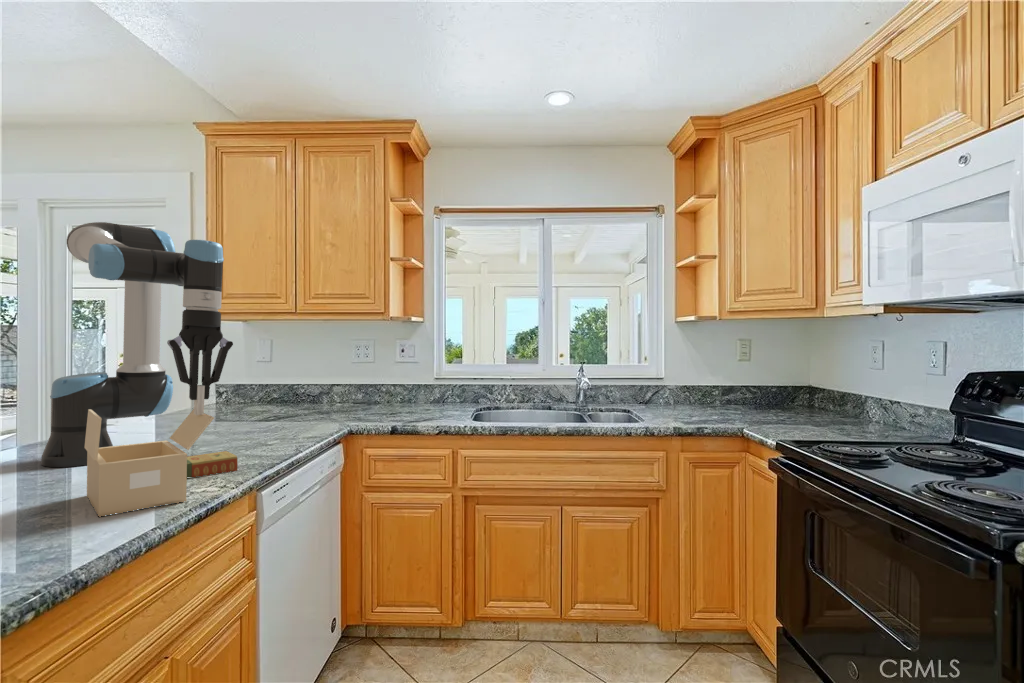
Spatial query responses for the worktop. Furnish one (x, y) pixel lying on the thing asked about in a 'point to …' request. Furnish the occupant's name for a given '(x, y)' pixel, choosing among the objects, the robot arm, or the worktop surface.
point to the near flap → (93, 434)
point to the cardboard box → (136, 477)
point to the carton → (211, 463)
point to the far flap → (191, 429)
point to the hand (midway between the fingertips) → (198, 414)
